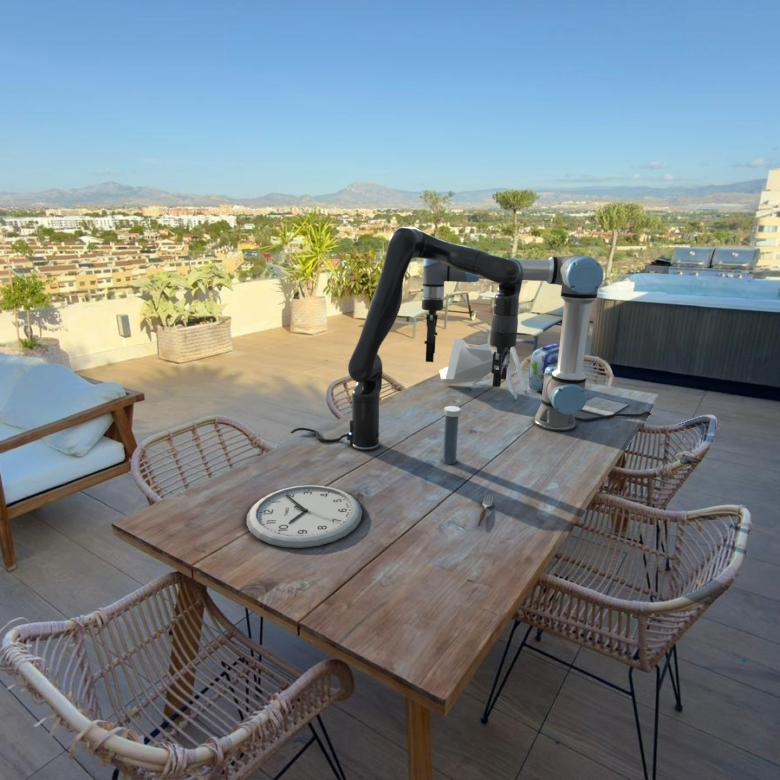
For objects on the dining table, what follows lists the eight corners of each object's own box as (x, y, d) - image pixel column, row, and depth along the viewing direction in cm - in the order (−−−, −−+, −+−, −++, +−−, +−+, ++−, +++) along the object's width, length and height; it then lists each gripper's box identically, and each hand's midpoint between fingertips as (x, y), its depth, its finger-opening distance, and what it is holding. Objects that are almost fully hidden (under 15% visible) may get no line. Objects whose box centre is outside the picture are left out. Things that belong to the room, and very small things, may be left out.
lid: (452, 418, 162) (452, 412, 162) (440, 413, 166) (440, 408, 166) (463, 414, 166) (464, 409, 165) (451, 410, 169) (451, 404, 169)
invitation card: (608, 416, 214) (573, 407, 224) (608, 416, 214) (573, 408, 224) (628, 404, 229) (594, 396, 238) (628, 405, 229) (594, 397, 238)
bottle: (449, 465, 168) (452, 413, 163) (440, 461, 171) (442, 409, 166) (458, 461, 171) (461, 410, 165) (449, 457, 174) (451, 407, 168)
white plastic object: (461, 429, 252) (437, 405, 227) (444, 352, 274) (420, 323, 250) (535, 404, 240) (518, 377, 215) (510, 326, 262) (492, 293, 237)
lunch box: (545, 396, 239) (550, 351, 232) (524, 391, 246) (528, 347, 240) (572, 385, 256) (577, 343, 250) (552, 380, 263) (557, 339, 257)
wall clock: (364, 539, 124) (235, 543, 122) (364, 545, 125) (236, 550, 122) (360, 481, 153) (256, 483, 150) (360, 486, 153) (256, 488, 151)
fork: (473, 526, 133) (473, 519, 133) (484, 497, 148) (485, 491, 147) (483, 528, 133) (484, 521, 132) (493, 499, 147) (494, 493, 146)
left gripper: (496, 324, 159) (492, 375, 164) (485, 332, 147) (481, 387, 152) (521, 326, 157) (516, 378, 162) (512, 334, 144) (507, 390, 149)
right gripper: (424, 293, 195) (422, 349, 202) (419, 302, 172) (417, 365, 178) (444, 294, 195) (441, 350, 201) (442, 303, 171) (439, 366, 177)
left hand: (499, 382), depth 157 cm, fingers open, 8 cm apart
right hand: (430, 357), depth 190 cm, fingers open, 13 cm apart
